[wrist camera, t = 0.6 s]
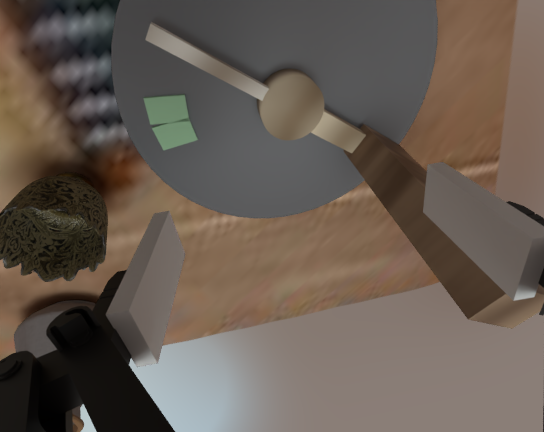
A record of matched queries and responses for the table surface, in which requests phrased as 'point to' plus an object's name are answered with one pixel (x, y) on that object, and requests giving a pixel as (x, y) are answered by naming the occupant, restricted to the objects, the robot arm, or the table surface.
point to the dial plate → (260, 65)
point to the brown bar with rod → (367, 176)
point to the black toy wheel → (55, 227)
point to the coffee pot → (46, 338)
